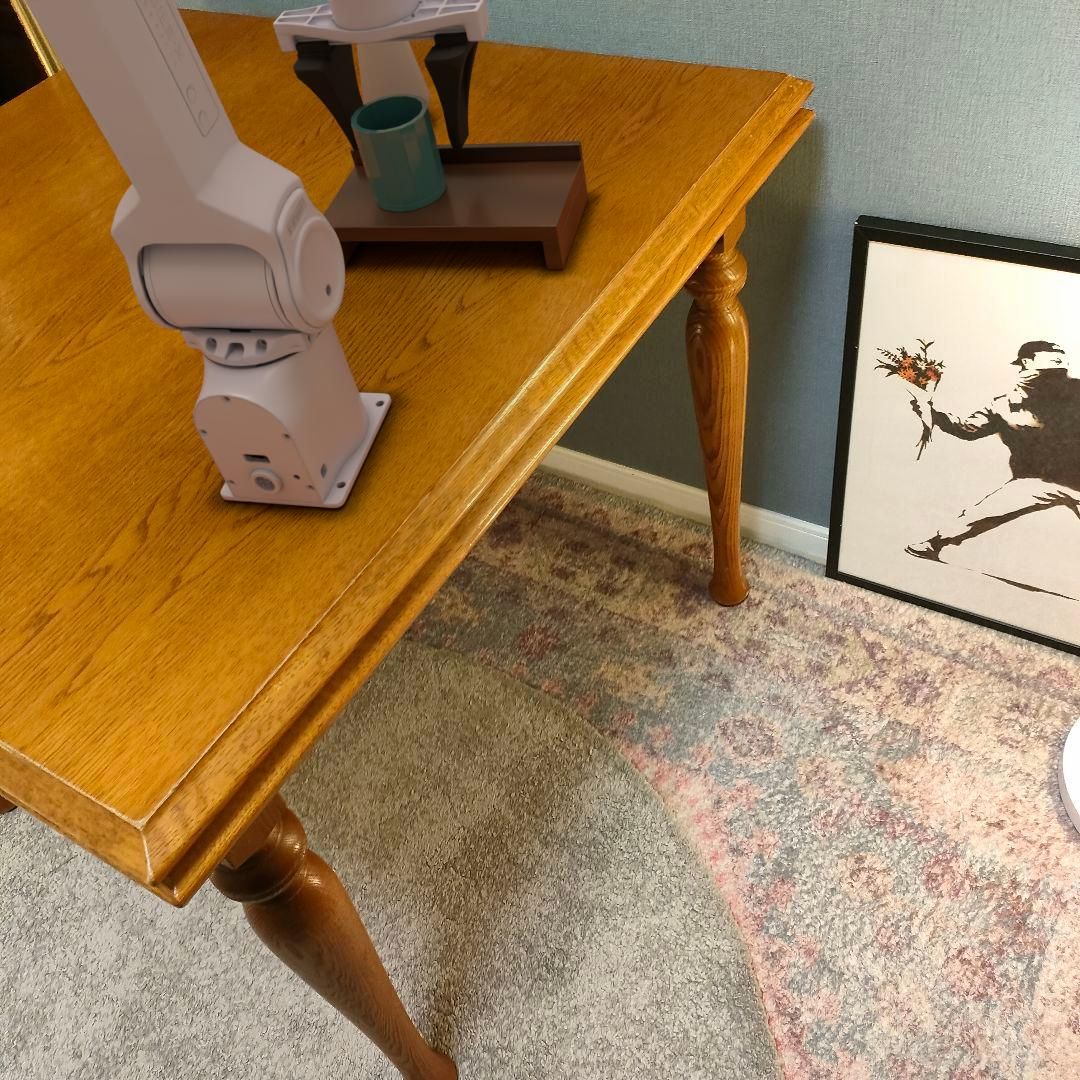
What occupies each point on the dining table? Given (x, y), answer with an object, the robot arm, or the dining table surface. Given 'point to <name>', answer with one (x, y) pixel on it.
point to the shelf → (478, 200)
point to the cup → (399, 152)
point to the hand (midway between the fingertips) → (411, 142)
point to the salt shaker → (390, 71)
